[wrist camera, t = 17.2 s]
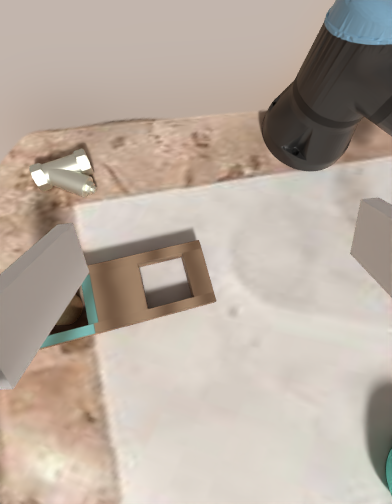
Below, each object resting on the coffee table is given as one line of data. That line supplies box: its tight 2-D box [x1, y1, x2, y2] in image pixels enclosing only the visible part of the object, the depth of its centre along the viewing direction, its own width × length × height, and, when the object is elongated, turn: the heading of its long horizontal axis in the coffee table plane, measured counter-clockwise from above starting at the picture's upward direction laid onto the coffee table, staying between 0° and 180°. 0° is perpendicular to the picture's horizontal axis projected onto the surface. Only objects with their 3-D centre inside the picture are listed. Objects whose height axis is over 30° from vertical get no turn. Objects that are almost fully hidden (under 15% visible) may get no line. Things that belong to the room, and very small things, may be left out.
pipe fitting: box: [29, 149, 97, 198], centre depth 42 cm, size 8×4×7 cm
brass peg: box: [55, 294, 83, 325], centre depth 32 cm, size 4×4×14 cm
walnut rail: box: [39, 240, 216, 350], centre depth 38 cm, size 26×9×3 cm, turn 105°
